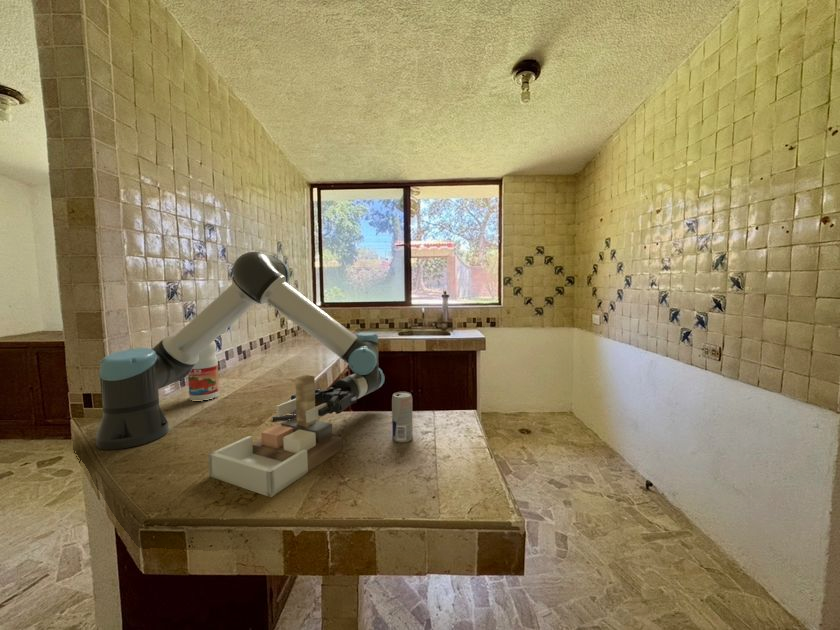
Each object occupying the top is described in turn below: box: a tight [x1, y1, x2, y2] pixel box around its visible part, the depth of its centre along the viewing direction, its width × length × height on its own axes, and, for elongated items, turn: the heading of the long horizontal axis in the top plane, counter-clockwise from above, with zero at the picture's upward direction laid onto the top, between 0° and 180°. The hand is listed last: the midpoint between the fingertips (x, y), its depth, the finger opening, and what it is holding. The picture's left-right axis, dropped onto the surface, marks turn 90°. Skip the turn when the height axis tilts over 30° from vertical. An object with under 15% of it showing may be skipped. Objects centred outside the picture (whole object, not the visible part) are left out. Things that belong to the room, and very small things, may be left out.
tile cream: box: [283, 429, 316, 453], centre depth 81 cm, size 5×5×3 cm
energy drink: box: [391, 391, 414, 444], centre depth 92 cm, size 5×5×12 cm
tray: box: [208, 435, 309, 498], centre depth 74 cm, size 18×10×5 cm, turn 65°
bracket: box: [272, 410, 297, 422], centre depth 114 cm, size 14×15×3 cm
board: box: [252, 434, 343, 473], centre depth 84 cm, size 18×12×3 cm, turn 65°
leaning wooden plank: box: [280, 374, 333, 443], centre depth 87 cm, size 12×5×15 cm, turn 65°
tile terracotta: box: [261, 424, 293, 448], centre depth 83 cm, size 5×5×3 cm
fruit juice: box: [187, 340, 220, 401], centre depth 127 cm, size 9×9×28 cm
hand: (292, 414), depth 83 cm, fingers open, 9 cm apart
